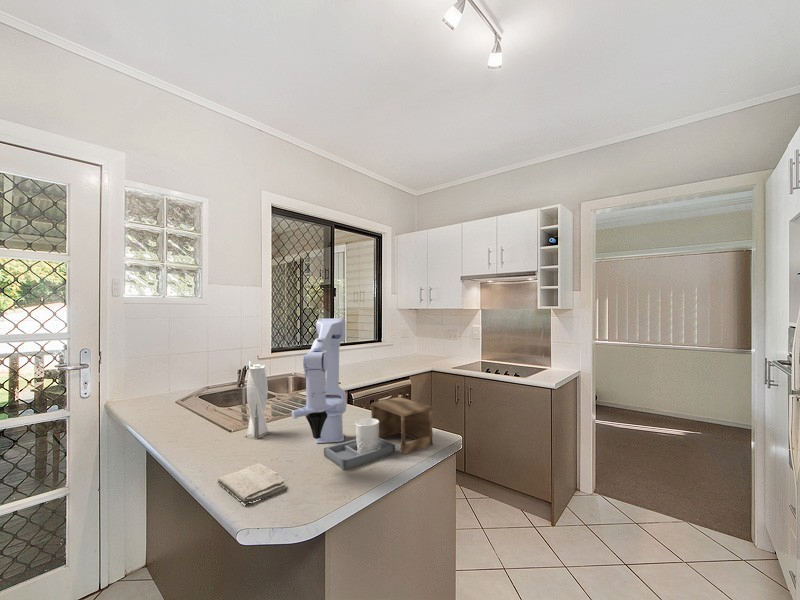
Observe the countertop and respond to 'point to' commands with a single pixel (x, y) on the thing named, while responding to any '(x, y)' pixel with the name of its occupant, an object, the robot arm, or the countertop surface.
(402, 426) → the shelf
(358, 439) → the white cup
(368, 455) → the tray
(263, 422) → the skyscraper
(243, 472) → the washcloth
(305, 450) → the countertop surface
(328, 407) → the robot arm
